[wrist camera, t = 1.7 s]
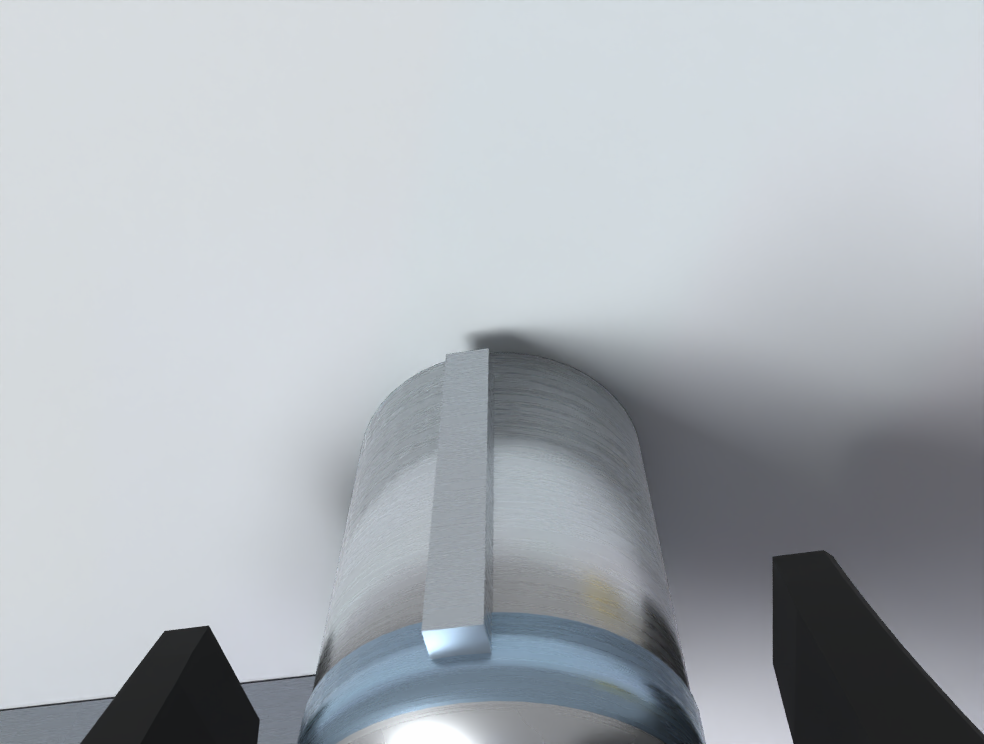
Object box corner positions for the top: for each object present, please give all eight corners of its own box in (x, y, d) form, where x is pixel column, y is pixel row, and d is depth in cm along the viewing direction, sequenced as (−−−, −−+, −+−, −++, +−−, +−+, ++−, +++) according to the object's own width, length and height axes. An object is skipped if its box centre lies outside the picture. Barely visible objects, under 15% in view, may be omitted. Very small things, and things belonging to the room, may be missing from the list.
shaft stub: (654, 552, 15) (728, 926, 10) (395, 583, 16) (349, 955, 11) (628, 304, 13) (710, 654, 8) (315, 352, 13) (202, 709, 8)
